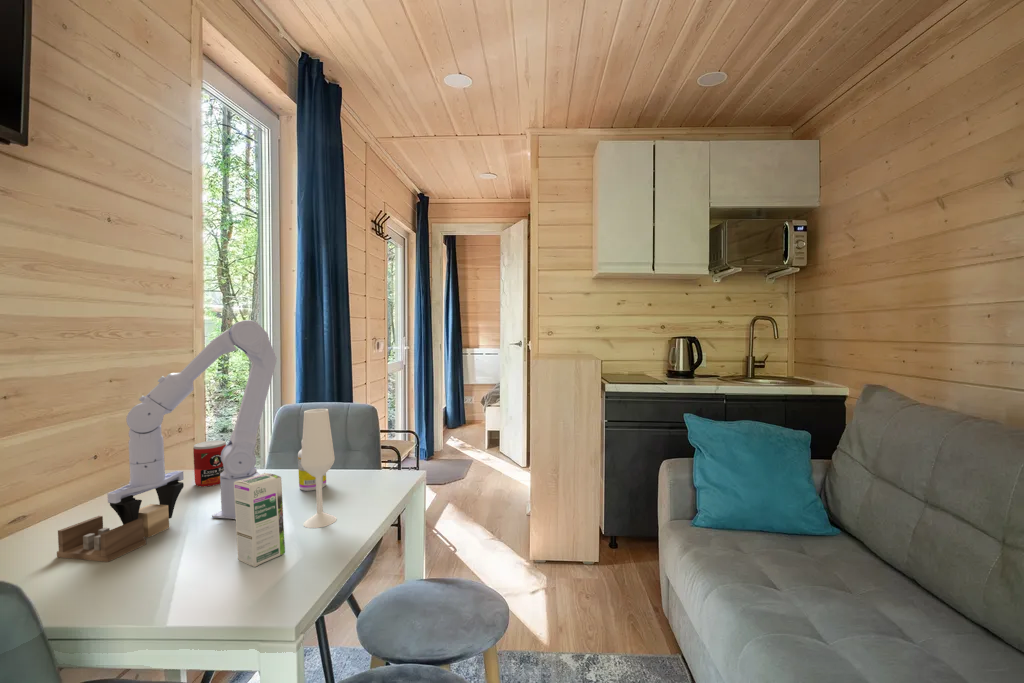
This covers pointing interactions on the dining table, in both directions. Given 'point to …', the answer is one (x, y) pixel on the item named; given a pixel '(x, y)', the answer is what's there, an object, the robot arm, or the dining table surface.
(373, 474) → the dining table surface
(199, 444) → the canned food
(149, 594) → the dining table surface
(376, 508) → the dining table surface
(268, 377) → the robot arm
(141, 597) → the dining table surface
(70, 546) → the stand
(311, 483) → the supplement bottle
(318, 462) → the champagne flute
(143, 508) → the light wooden block
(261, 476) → the syrup box
